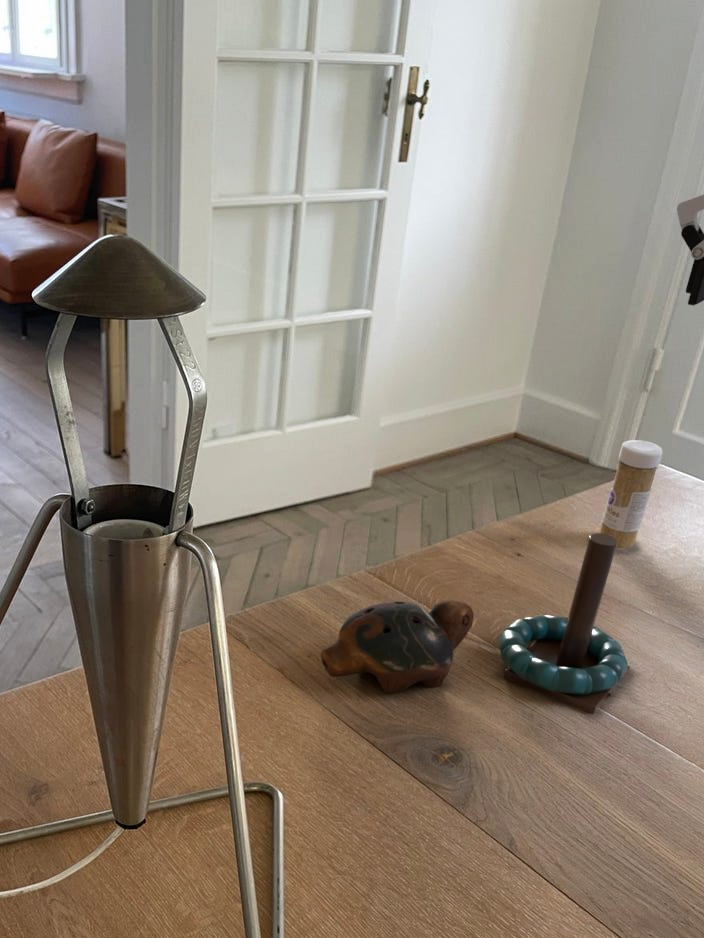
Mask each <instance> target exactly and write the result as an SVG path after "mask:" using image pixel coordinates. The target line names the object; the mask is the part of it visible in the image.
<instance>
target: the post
mask: <svg viewBox="0 0 704 938" xmlns="http://www.w3.org/2000/svg"><path fill="white" fill-rule="evenodd" d="M616 546H617V540H616V539H615V538H614V537H612V536H610V535H606V534H600V533H597V532H596V533H592V534H590V535H589V537H588V541H587V544H586V548H585V552H584V556H583V560H582V564H581V568H580V571H579V575H578V578H577V582H576V586H575V589H574V594H573V597H572V602H571V605H570V609H569V612H568V617H567V618H568V620H567V624H566V628H565V632H564V635H563V639H562V641H559V640H549V639H540V640H535V641H533V643H532V644H531V645H530V646H529V647H528V648H526V649H527V650H528V651H529V652H531V653H532V654H533V655H534V656H535V657H536V658H538V659H541V660H543V661H546V662H549V663H551V664H554V665H557V666H560V667H569V668H579V669H584V668H588V667H593V666H597V665H598V664H599V661H598V658H597V657H595V656H594V655H593V654H592V653H590V652H589V651H588V650H587V648H588V645H589V641H590V638H591V634H592V631H593V627H594V626H595V623H596V621H597V616H598V614H599V613H598V612H599V609H600V606H601V602H602V598H603V594H604V591H605V588H606V585H607V581H608V577H609V574H610V570H611V567H612V563H613V559H614V556H615V552H616V549H617V548H616ZM630 669H631V666H630V665H628V668H627V671H626V672H625V674H624V675H623V676H622V678H621V679H620V680H619V681H618V683H617V684H616V685H615V686H614V687H613V688H611V689H607V690H603V691H599V692H595V693H591V694H586V695H580V694H571V693H562V692H553V691H550V690H547V689H545V688H542V687H540V686H537V685H535V684H532V683H530V682H527V681H525V680H523V679H522V678H520V677H519V676H518V675H517V674H516V673H515V672H514V671H513V670H511V669H510V668H509V667H508V666H507V667H506V669H505V671H504V675H503V678H505V679H507V680H509V681H512V682H515V683H517V684H518V685H519V684H520V685H522V686H525V687H527V688H529V689H532V690H533V691H536V692H539V693H541V694H543V695H546V696H548V697H551V698H553V699H555V700H557V701H560V702H563V703H565V704H567V705H570V706H572V707H574V708H577V709H579V710H581V711H585V712H587V713H589V714H592V715H594V714H595V713H596V712H597V711H598V710H599V709H600V707H602V705H603V704H604V703H605V701H607V700H608V698H609V697H610V696H611V692H612V691H613V690H614V688H615V687H616V686H617V685H618V684H619V683H620V681H621V680H623V678H624V677H625V675H627V673H628V672H629V671H630Z"/></svg>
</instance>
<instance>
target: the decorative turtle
mask: <svg viewBox="0 0 704 938" xmlns="http://www.w3.org/2000/svg"><path fill="white" fill-rule="evenodd" d="M473 622H474V610H473V608H472V607H471V605H470V604H468V603H467V602H466V601H462V600H458V599H444V600H441V601H439V602H437V603H436V604H435V605H434V606H433V607H432V609H431V610H430V612H427V611H425V609H424V608H423V607H422V606H420V605H418V604H417V603H414V602H410V601H401V600H398V601H397V600H396V601H395V600H394V601H385V602H379V603H376V604H372V605H369V606H367V607H363V608H362V609H360V610H358V611H356V612H354V613H352V614H351V615H350V616H349V617H348V618H346V620H345V621H344V623H342V625H341V627H340V629H339V632H338V638H337V640H336V641H335V642H333V643H331V644H329V645H328V646H325V647H323V648H322V649H321V650H320V658H321V663H322V665H323V668H324V670H325V671H326V673H327V674H328V675H329V677H333V678H334V677H335V678H339V677H346V676H350V675H357V674H364V673H369V674H372V675H374V676H375V677H376V679H377V681H378V682H379V685H380V687H381V689H382V690H383V692H385V693H389V694H400V693H402V692H403V691H405V690H406V689H408V688H410V687H411V686H413V685H415V684H417V683H420V684H421V685H423V686H424V687H426V688H431V689H432V688H440V687H441V686H442V685H443V683H444V681H445V679H446V678H447V676H448V674H449V672H450V669H451V666H452V664H453V661H454V650H456V648H458V646H459V645H460V644H461V643H462V641H464V640H465V638H466V636H467V635H468V633H469V631H470V629H471V628H472V626H473Z"/></svg>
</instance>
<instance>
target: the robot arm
mask: <svg viewBox="0 0 704 938" xmlns="http://www.w3.org/2000/svg"><path fill="white" fill-rule="evenodd" d="M702 210H704V194H701V195H699V196H698V195H697V196H696V197H693V198H691V199H688V200H685V201H681V202H680V203H679V204H678V205H677V207H676V213H677V216H678V222H679V226H680V229H681V232H680V235H681V237H682V239H683V241H684V242H685V244H686V246H687V248H688V249H689V250H690V255H691V258H692V259H693V263H692V265H691V269H690V273H689V277H688V280H687V285H686V288H685V293H686V294H689V297H688V300H687V305H689V306H696V305H698V304H700V303H702V302H703V301H704V231H703V230H702V228H701V226H700V225H699V223H698V221H699V218H698V215H699V213H700V212H701V211H702Z"/></svg>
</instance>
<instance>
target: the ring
mask: <svg viewBox="0 0 704 938" xmlns="http://www.w3.org/2000/svg"><path fill="white" fill-rule="evenodd" d="M567 620H568V617H566V616H558V615H557V616H555V615H547V614H546V615H545V614H540V615H535V616H531V617H524V618H520V619H516V620H515V621H513V622H512V623H511V624H510V625H509V626H508V627H506V629H505V630H503V632H502V633H500V635H499V637H498V645H499V652H500V657H501V660H502V662H503V664H505V665H506V666H507V668H508V667H509V668H510V669H511V670H513V671H514V672H515V673H516V674H517V675H518V676H519V677H520V678H522V679H523V680H525V681H527V682H530V683H532V684H535V685H537V686H540V687H542V688H545V689H547V690H550V691H553V692H562V693H571V694H580V695H586V694H591V693H595V692H599V691H603V690H607V689H611V688H613V687H614V686H615V685H616V684H617V683H618V684H619V682H620V681H621V680H622V679H623V678H622V676H623V675H624V674H625V672H626V671H627V668H628V666H629V664H628V661H627V658H626V655H625V652H624V650H623V648H622V647H623V646H622V645H621V644H620V643H619V641H617V640H616V639H614V637H612V636H611V635H609V634H608V633H606V632H605V631H603V629H601V628H600V627H597V626H595V625H594V627H593V631H592V634H591V638H590V641H589V645H588V648H587V650H588V651H589V652H590V653H592V654H593V655H594V656H595V657H597V658H598V661H599V664H598V665H597V666H593V667H588V668H584V669H579V668H569V667H560V666H557V665H554V664H551V663H549V662H546V661H543V660H541V659H538V658H536V657H535V656H534V655H533V654H532V653H531V652H529V651H528V650H527V649H528V648H527V646H526V645H527V644H528V643H530V642H536V641H537V640H540V639H549V640H559V641H562V639H563V635H564V632H565V628H566V624H567ZM625 675H626V674H625ZM625 675H624V676H625ZM624 676H623V677H624ZM621 678H622V679H621ZM620 679H621V680H620ZM619 680H620V681H619ZM618 681H619V682H618ZM618 684H617V685H618ZM617 685H616V686H617ZM616 686H615V687H616ZM615 687H614V688H615ZM614 688H613V689H614Z"/></svg>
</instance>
